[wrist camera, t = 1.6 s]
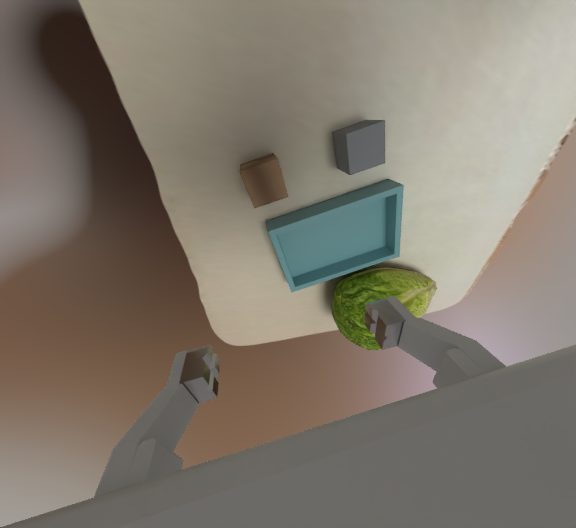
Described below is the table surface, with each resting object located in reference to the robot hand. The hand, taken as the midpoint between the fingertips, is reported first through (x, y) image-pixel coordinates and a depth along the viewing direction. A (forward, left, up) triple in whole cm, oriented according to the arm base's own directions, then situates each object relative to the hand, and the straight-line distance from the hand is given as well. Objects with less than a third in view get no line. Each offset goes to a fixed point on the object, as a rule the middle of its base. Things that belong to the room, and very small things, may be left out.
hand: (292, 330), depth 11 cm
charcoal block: (-15, -2, -27) cm, 31 cm away
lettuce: (-18, +30, -27) cm, 44 cm away
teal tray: (-10, +12, -27) cm, 31 cm away
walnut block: (-1, -2, -27) cm, 27 cm away
